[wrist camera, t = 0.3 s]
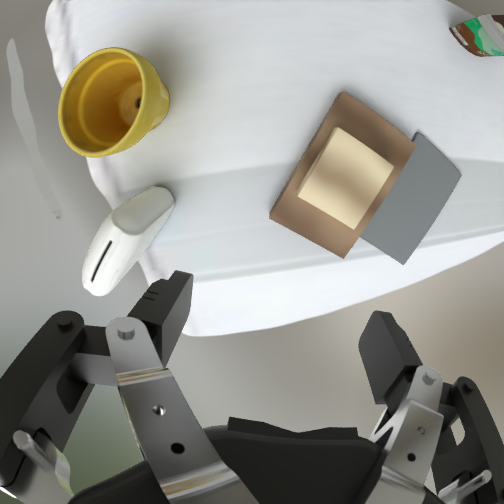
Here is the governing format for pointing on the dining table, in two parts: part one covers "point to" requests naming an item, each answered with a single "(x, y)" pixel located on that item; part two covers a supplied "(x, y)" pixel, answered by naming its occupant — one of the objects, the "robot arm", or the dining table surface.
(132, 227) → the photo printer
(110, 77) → the plant pot
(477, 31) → the food container
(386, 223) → the mat
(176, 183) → the dining table surface
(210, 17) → the dining table surface
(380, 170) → the cream flat block
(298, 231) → the brown wooden block
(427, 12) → the dining table surface
